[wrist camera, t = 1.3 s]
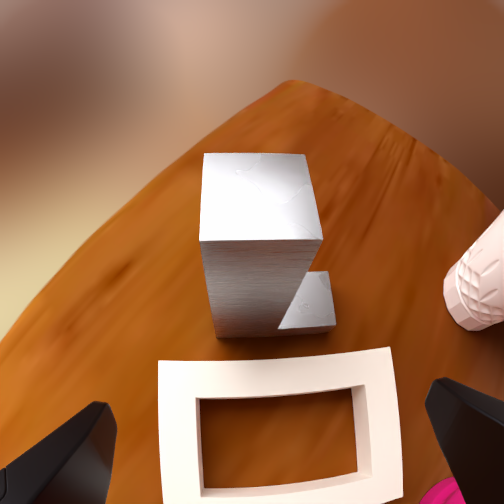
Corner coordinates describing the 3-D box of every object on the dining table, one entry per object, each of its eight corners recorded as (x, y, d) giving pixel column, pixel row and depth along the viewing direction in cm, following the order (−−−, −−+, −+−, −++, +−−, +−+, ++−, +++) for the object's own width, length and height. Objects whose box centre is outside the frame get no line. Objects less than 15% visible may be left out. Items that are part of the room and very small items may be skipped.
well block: (386, 490, 16) (402, 496, 14) (173, 514, 15) (166, 525, 12) (374, 354, 21) (389, 346, 19) (166, 366, 20) (158, 360, 18)
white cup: (487, 265, 26) (546, 211, 17) (499, 337, 22) (573, 296, 13) (431, 255, 26) (493, 189, 17) (441, 337, 22) (524, 290, 13)
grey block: (327, 332, 22) (421, 239, 10) (216, 338, 21) (199, 240, 10) (320, 282, 24) (390, 161, 12) (215, 285, 23) (204, 153, 12)
